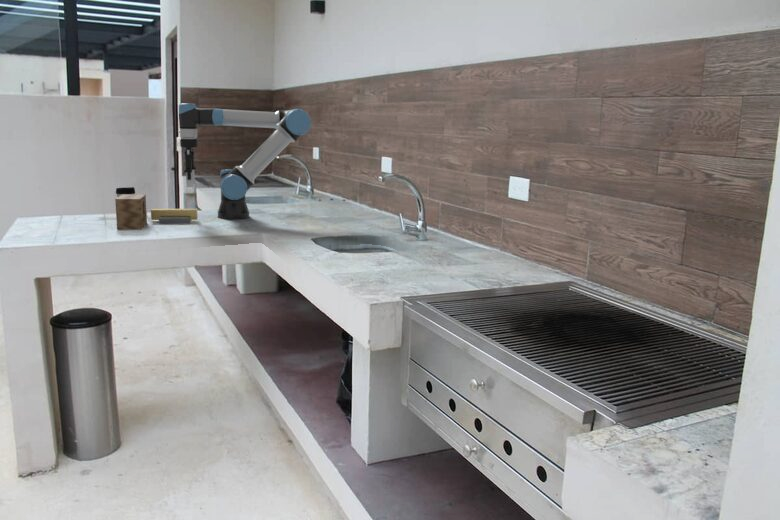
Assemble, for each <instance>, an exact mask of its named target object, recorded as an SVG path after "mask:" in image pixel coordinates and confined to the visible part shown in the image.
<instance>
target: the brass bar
mask: <svg viewBox="0 0 780 520" xmlns="http://www.w3.org/2000/svg"><path fill="white" fill-rule="evenodd" d="M159 218H189V220H191V221H194V220H195V221H196V220H198V208H151V209H150V220H151V221H159Z"/></svg>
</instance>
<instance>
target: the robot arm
mask: <svg viewBox="0 0 780 520" xmlns="http://www.w3.org/2000/svg"><path fill="white" fill-rule="evenodd" d="M178 125H179V130H178V131H177V132H178V134H179V137H180V139H179V143H180V148H185V149H184V159H185V160H184V161H185V170H184V173H185V181H186V183H185V184H186V188H194V185H195V184H196V178H195V177H196V176H195V174H196V173H195V170H197V167H195V161H194V160H195V151H194V148H197V147H198V146H199V145H198V144H199V143H198V139H197V138H198V126H215V127H216V126H217V127H218V126H228V127H243V128H244V127H247V128H266V129H276V130H274V132H272V133H271V134H270V136H269V137H268V138H267V139H266V140H264V141H263V143H262V144H261V145H260V146H259V147H258V148H257V149H256V150H255V151H254V152H252V154H251V155H250V156H249V157H248V158H247V159H246V160H245V161H244V162H243V163H242V164H241V165H235V166H234V167H233V168H232V169H221V170H220V174H219V176H220V185H219V186H220V204H219V207H218V210H217V217H218V218H219V219H225V220H227V219H229V220H239V219H247V218H249V217H250V210H249V208H248V204H247V201H246V194H247V192H248V191H249V190H250V189H251V188H252V186H253V185H255V179H256V178H257V177H258V176H259V175H260V174H261V173H262V172H263V171H264V170H265V169H266V168H267V167H268V166H269V165H270V163H272V162H273V161H274V159H276V158H277V157H278V156H279V155H280V153H282V152H283V150H285V148H286V147H287V146H288V145H290V143H296V142H297V141H298V140H299V139H300V138H301V137H302V136H303V135H305V134H306V133H308V132H309V130H310V128H311V125H312V120H311V117H310V115H309V113H308V112H306V111H305V110H304V109H302V108H293V109H287V110H286V109H285V110H284V109H283V110H277V111H275V112H274V111H263V110H262V111H260V110H259V111H258V110H240V109H226V108H217V107H216V108H211V107H209V108H208V107H206V108H205V107H203V108H202V107H201V108H200V107H199V108H198V107H197V106H196V103H180V104H179V105H178Z"/></svg>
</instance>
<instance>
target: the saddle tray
mask: <svg viewBox="0 0 780 520" xmlns="http://www.w3.org/2000/svg"><path fill="white" fill-rule="evenodd" d="M191 221H192V220H189V218H159V220H158V224H159V225H190V224H191Z"/></svg>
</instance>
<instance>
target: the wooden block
mask: <svg viewBox="0 0 780 520" xmlns="http://www.w3.org/2000/svg"><path fill="white" fill-rule="evenodd" d="M146 195H147V194H136V193H135V194H122V195H120V196H119V197H117V196H116V198H115V200H114V201H115V216H116V217H115V218H116V219H115V220H116V230H143V229H144V227H146V226H147V224H148V219H147V215H148V214H147V199H146V198H147V196H146Z"/></svg>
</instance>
